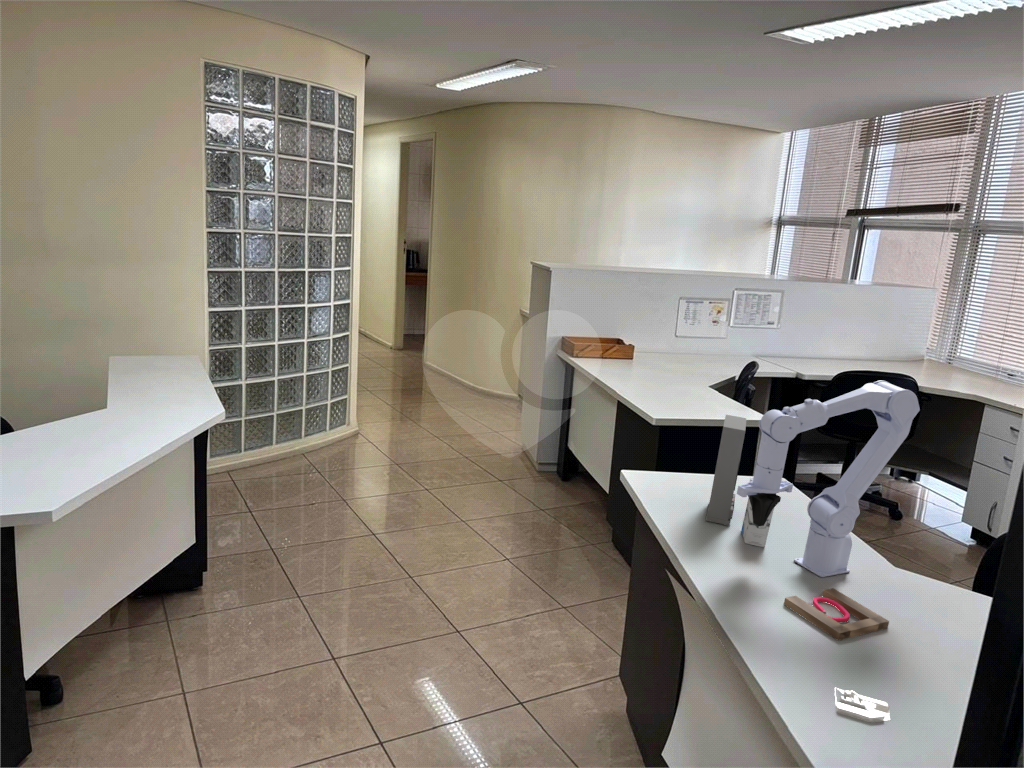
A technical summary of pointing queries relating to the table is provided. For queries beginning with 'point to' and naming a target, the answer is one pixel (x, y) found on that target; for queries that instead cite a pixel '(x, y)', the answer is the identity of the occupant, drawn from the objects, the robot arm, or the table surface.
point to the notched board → (832, 627)
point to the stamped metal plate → (862, 707)
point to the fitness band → (841, 608)
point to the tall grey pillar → (726, 471)
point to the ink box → (755, 528)
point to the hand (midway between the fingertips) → (758, 524)
